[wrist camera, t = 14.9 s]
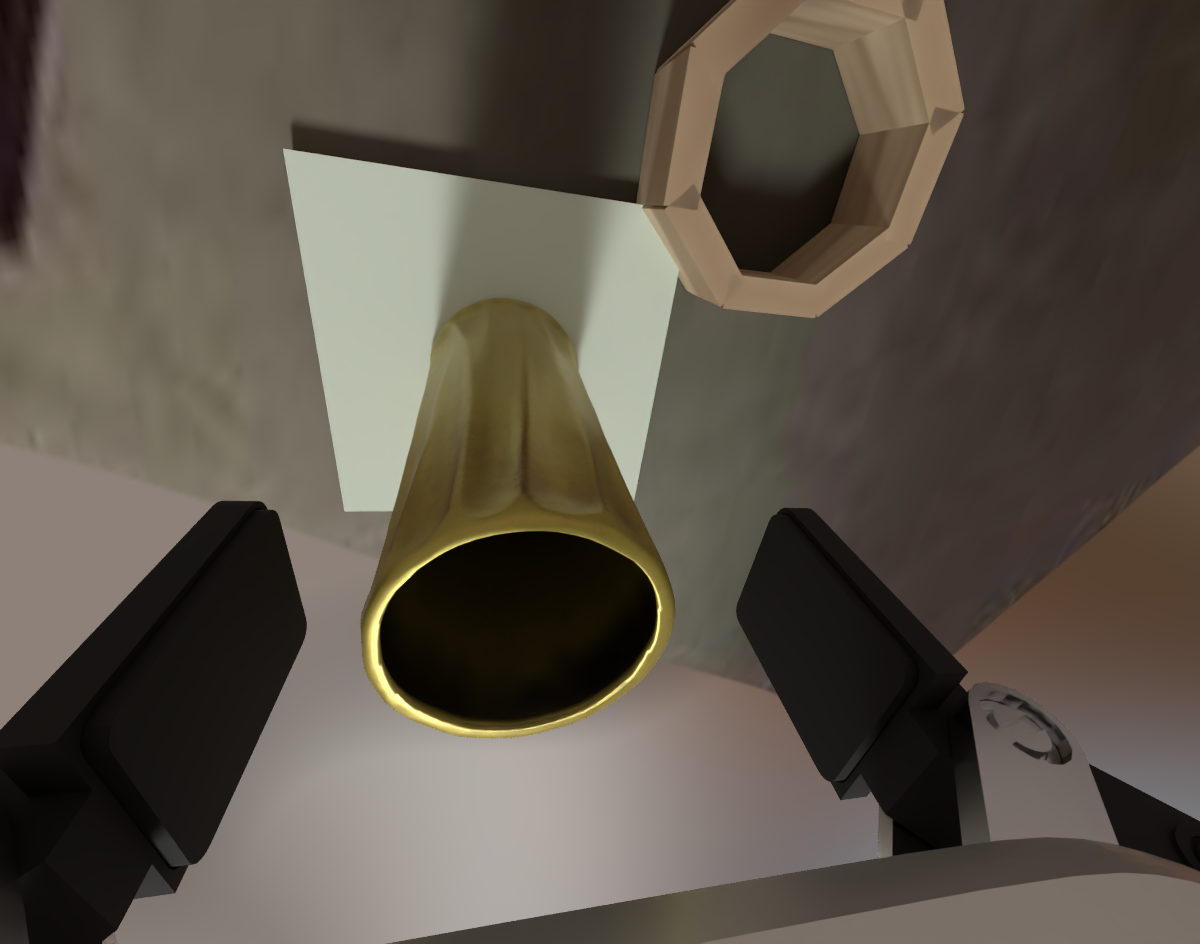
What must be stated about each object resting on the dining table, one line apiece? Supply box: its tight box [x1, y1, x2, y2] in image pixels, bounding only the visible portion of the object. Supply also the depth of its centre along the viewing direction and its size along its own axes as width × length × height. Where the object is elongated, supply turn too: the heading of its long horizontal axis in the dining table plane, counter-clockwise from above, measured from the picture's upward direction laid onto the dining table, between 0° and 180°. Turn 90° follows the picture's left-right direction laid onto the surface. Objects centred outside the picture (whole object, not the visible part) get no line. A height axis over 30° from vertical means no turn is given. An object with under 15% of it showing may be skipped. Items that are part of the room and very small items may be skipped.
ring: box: [636, 0, 964, 318], centre depth 17 cm, size 10×10×4 cm
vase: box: [361, 298, 675, 738], centre depth 14 cm, size 6×6×14 cm
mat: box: [283, 149, 679, 511], centre depth 20 cm, size 14×14×1 cm
